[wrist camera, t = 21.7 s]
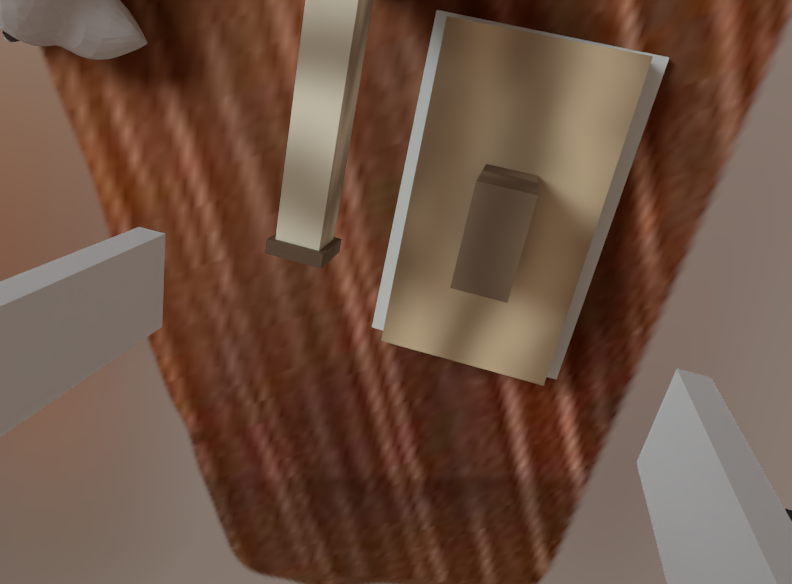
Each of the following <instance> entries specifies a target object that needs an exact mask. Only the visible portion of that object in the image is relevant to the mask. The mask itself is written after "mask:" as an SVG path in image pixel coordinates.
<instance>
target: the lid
mask: <svg viewBox="0 0 792 584" xmlns="http://www.w3.org/2000/svg"><path fill="white" fill-rule="evenodd" d="M652 57H653V56H648V55H643V54H638V53H633V52H628V51H623V50H618V49H612V48H607V47H602V46H597V45H592V44H587V43H582V42H577V41H572V40H566V39H561V38H556V37H551V36H546V35H541V34H536V33H531V32H526V31H521V30H515V29H510V28H505V27H500V26H495V25H490V24H485V23H480V22H475V21H470V20H464V19H459V18H454V17H449V16H447V18H446V23H445V28H444V33H443V37H442V42H441V47H440V52H439V57H438V62H437V67H436V72H435V77H434V82H433V87H432V92H431V97H430V102H429V107H428V112H427V116H426V121H425V126H424V131H423V136H422V141H421V146H420V151H419V156H418V161H417V166H416V171H415V176H414V181H413V186H412V191H411V196H410V200H409V205H408V210H407V215H406V220H405V225H404V230H403V235H402V240H401V245H400V250H399V255H398V260H397V265H396V270H395V275H394V279H393V284H392V289H391V294H390V299H389V304H388V309H387V314H386V319H385V324H384V329H383V334H382V339H381V341H384V342H388V343H391V344H395V345H399V346H402V347H406V348H409V349H413V350H417V351H420V352H424V353H427V354H431V355H435V356H438V357H442V358H446V359H449V360H453V361H456V362H460V363H464V364H467V365H471V366H474V367H478V368H482V369H485V370H489V371H492V372H496V373H500V374H503V375H507V376H510V377H514V378H518V379H521V380H525V381H528V382H532V383H536V384H539V385H543V386H544V383H545V380H546V377H547V374H548V371H549V368H550V365H551V362H552V359H553V356H554V353H555V350H556V347H557V344H558V341H559V338H560V335H561V332H562V329H563V326H564V323H565V320H566V317H567V314H568V311H569V308H570V305H571V302H572V299H573V296H574V293H575V290H576V287H577V284H578V281H579V278H580V275H581V272H582V269H583V266H584V263H585V260H586V257H587V254H588V251H589V248H590V245H591V241H592V238H593V235H594V232H595V229H596V226H597V223H598V220H599V217H600V214H601V211H602V208H603V205H604V202H605V199H606V196H607V193H608V190H609V187H610V184H611V181H612V178H613V175H614V172H615V169H616V166H617V163H618V160H619V157H620V154H621V151H622V148H623V145H624V142H625V139H626V136H627V133H628V130H629V127H630V124H631V121H632V118H633V115H634V112H635V109H636V106H637V103H638V100H639V97H640V94H641V91H642V88H643V85H644V82H645V79H646V75H647V72H648V69H649V66H650V63H651V60H652Z"/></svg>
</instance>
